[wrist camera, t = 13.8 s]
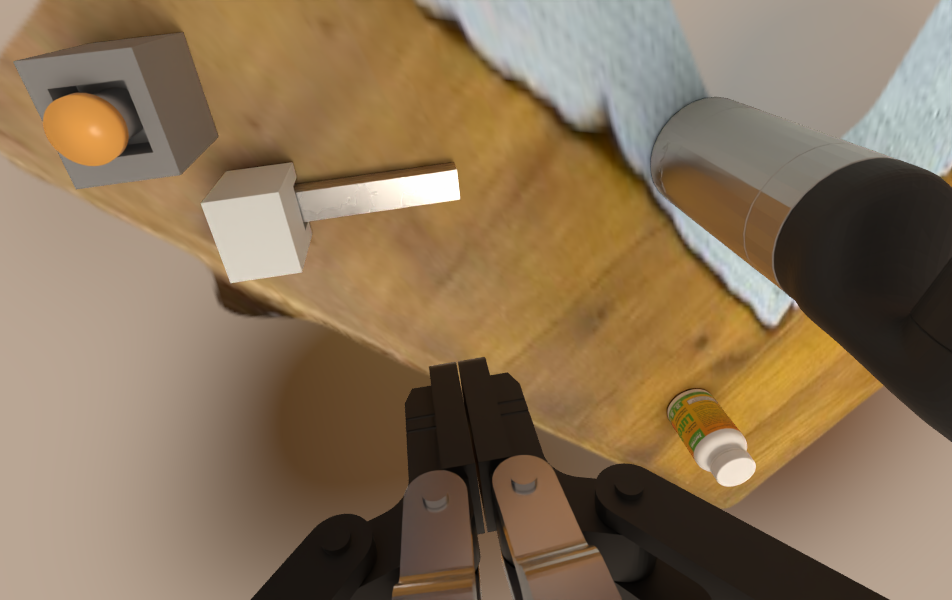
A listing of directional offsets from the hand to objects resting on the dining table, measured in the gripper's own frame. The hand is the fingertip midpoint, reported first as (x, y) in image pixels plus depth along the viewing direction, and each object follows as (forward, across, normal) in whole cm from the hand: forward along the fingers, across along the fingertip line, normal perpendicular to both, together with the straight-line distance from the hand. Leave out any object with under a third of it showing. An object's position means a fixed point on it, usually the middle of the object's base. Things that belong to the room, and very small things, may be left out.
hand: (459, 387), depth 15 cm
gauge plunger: (+26, +17, -4) cm, 31 cm away
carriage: (+32, +12, +5) cm, 34 cm away
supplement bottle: (+32, -26, +35) cm, 54 cm away
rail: (+32, +6, +5) cm, 33 cm away
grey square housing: (+32, +17, -4) cm, 36 cm away
